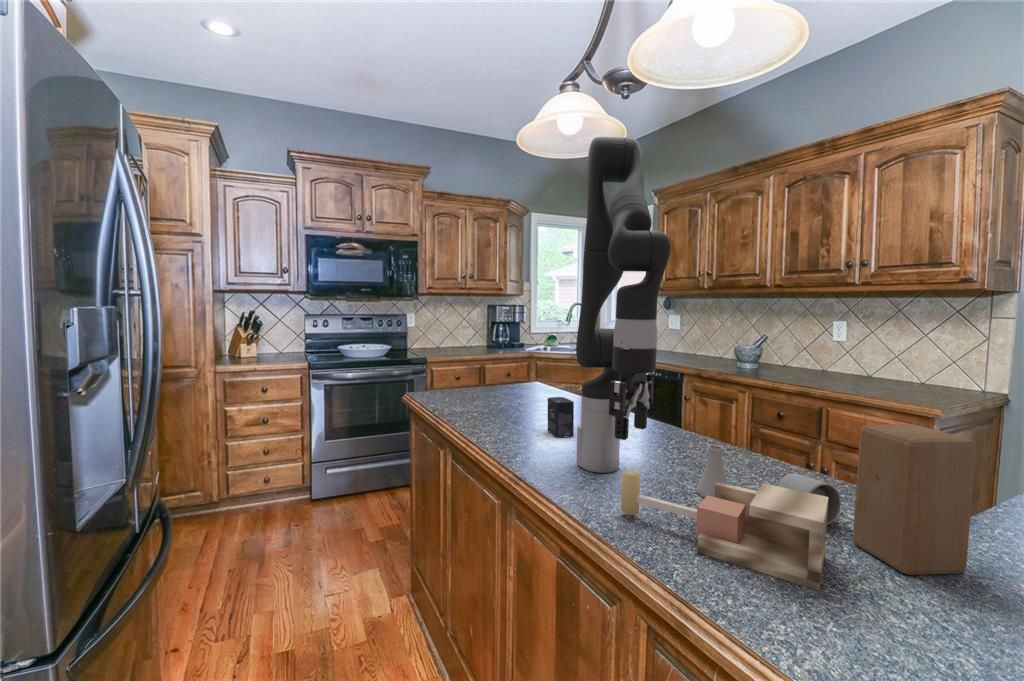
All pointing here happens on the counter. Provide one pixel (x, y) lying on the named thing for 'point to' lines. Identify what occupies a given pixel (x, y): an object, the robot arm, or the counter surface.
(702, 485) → the flask
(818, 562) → the shelf
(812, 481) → the ceramic mug
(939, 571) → the wooden block
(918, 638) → the counter surface
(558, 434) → the box
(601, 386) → the robot arm
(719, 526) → the pull block
